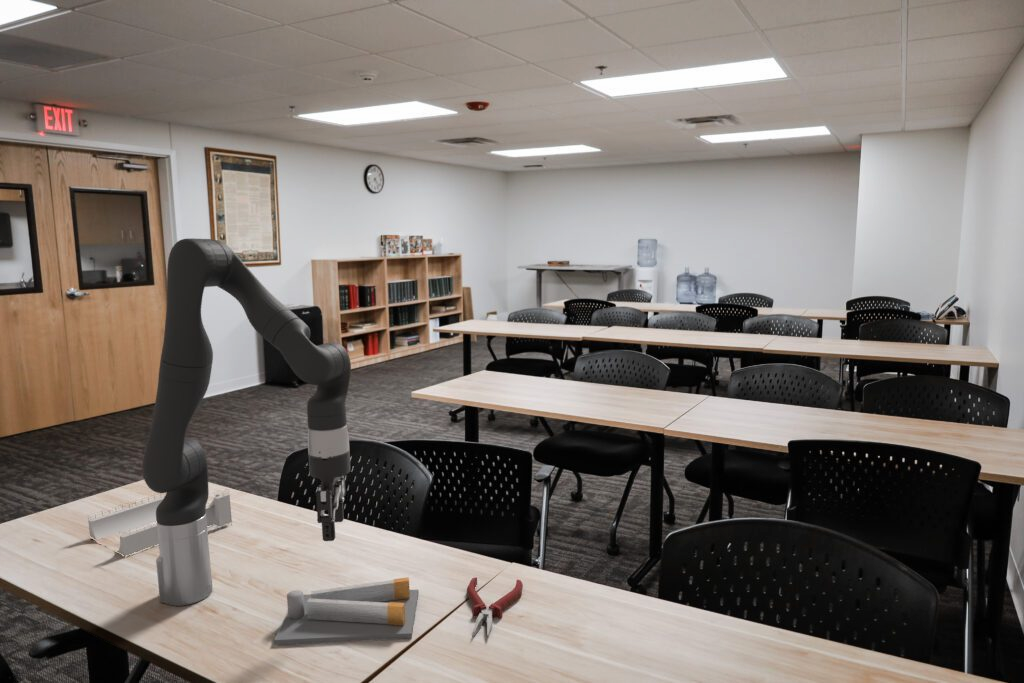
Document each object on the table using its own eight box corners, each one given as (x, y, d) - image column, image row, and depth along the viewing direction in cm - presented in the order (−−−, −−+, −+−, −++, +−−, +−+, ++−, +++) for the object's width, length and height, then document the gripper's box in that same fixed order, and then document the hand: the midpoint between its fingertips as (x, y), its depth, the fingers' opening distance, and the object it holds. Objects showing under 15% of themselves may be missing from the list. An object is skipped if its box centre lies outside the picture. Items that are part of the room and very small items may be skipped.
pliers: (449, 640, 124) (449, 627, 124) (471, 586, 144) (470, 574, 144) (511, 644, 123) (510, 631, 122) (524, 589, 143) (523, 577, 142)
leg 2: (307, 619, 129) (306, 601, 128) (310, 615, 130) (309, 597, 130) (403, 625, 126) (402, 606, 126) (405, 621, 128) (404, 602, 127)
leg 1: (312, 612, 132) (311, 594, 131) (312, 608, 133) (311, 590, 133) (409, 598, 136) (409, 580, 136) (409, 594, 138) (408, 577, 137)
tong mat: (274, 645, 123) (272, 617, 122) (297, 599, 139) (295, 574, 138) (411, 638, 124) (410, 610, 124) (418, 593, 140) (417, 569, 139)
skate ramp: (186, 508, 190) (183, 474, 189) (232, 526, 177) (229, 490, 176) (90, 540, 170) (86, 502, 169) (134, 564, 157) (129, 523, 156)
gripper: (317, 439, 134) (321, 516, 136) (299, 462, 120) (305, 548, 122) (355, 437, 134) (359, 515, 136) (342, 460, 120) (346, 546, 122)
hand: (333, 530), depth 129 cm, fingers open, 8 cm apart
